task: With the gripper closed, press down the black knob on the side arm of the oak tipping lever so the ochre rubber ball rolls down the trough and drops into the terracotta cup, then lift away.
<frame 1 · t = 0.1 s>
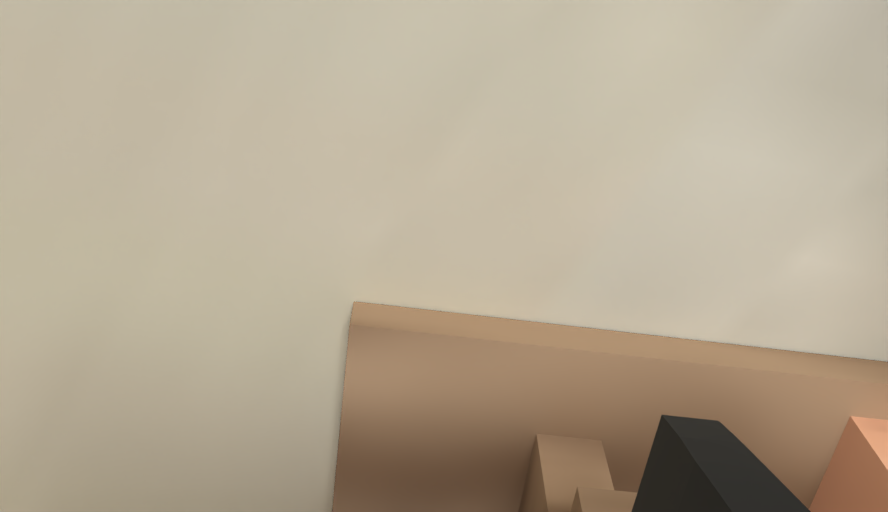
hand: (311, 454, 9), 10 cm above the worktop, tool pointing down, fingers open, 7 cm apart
stand: (548, 471, 22), on the worktop
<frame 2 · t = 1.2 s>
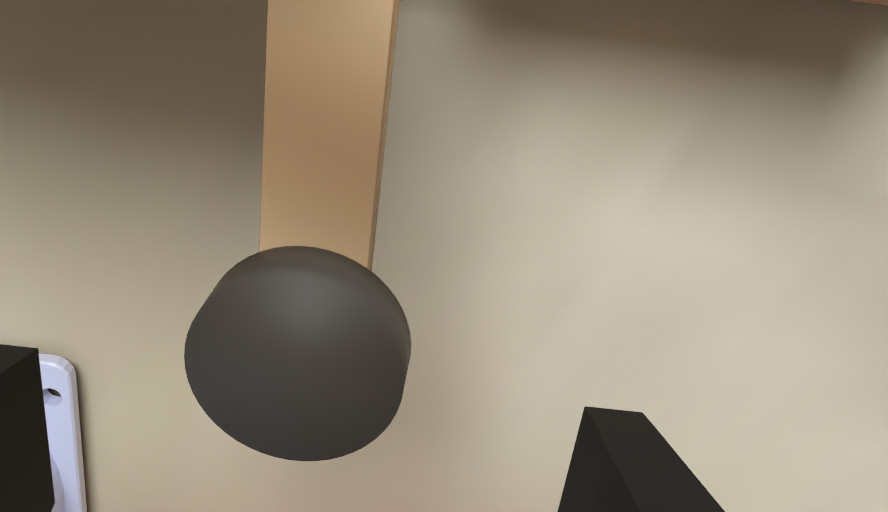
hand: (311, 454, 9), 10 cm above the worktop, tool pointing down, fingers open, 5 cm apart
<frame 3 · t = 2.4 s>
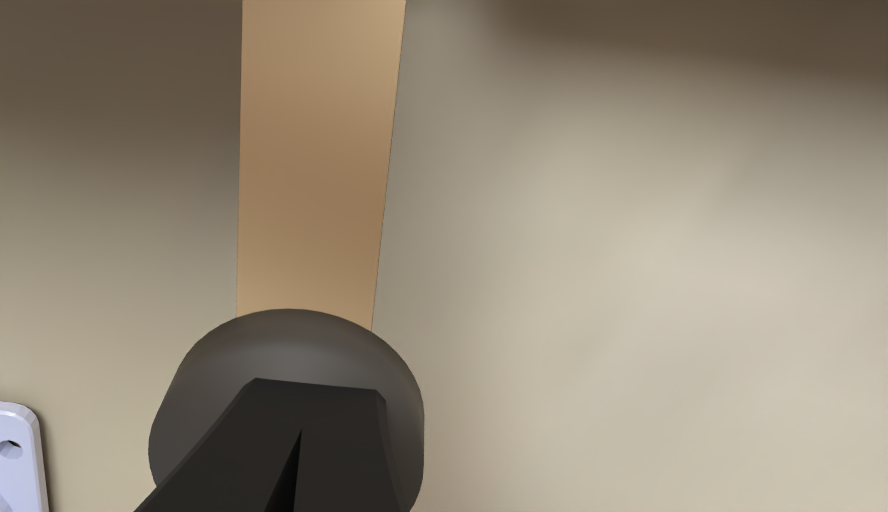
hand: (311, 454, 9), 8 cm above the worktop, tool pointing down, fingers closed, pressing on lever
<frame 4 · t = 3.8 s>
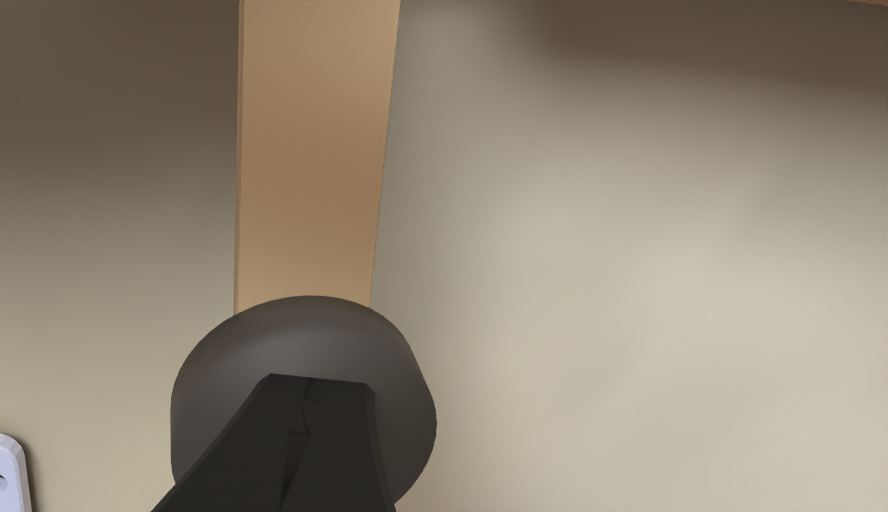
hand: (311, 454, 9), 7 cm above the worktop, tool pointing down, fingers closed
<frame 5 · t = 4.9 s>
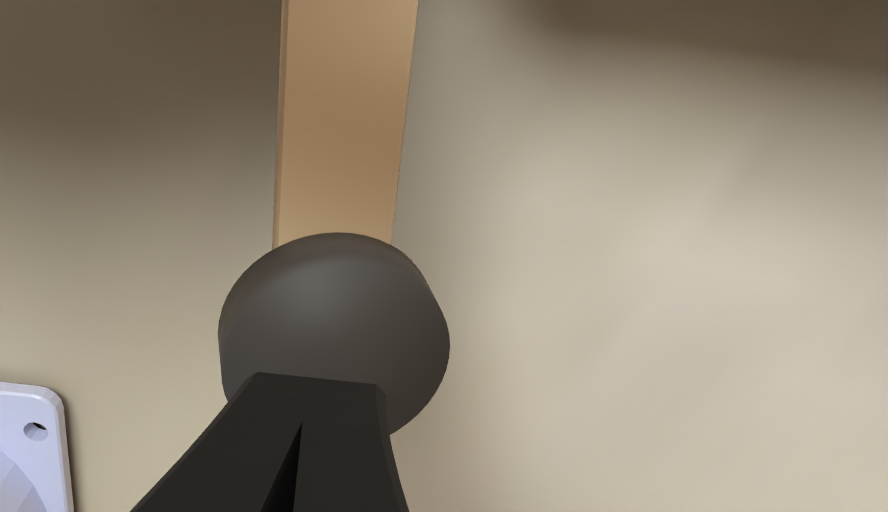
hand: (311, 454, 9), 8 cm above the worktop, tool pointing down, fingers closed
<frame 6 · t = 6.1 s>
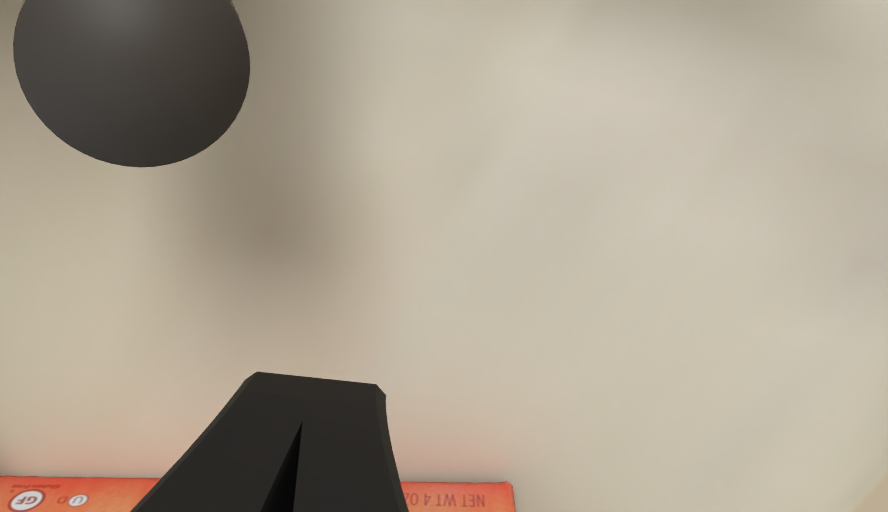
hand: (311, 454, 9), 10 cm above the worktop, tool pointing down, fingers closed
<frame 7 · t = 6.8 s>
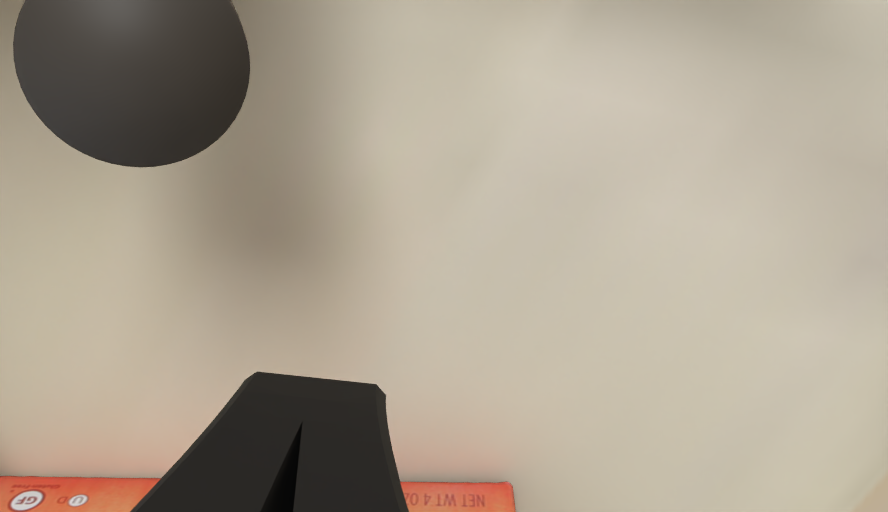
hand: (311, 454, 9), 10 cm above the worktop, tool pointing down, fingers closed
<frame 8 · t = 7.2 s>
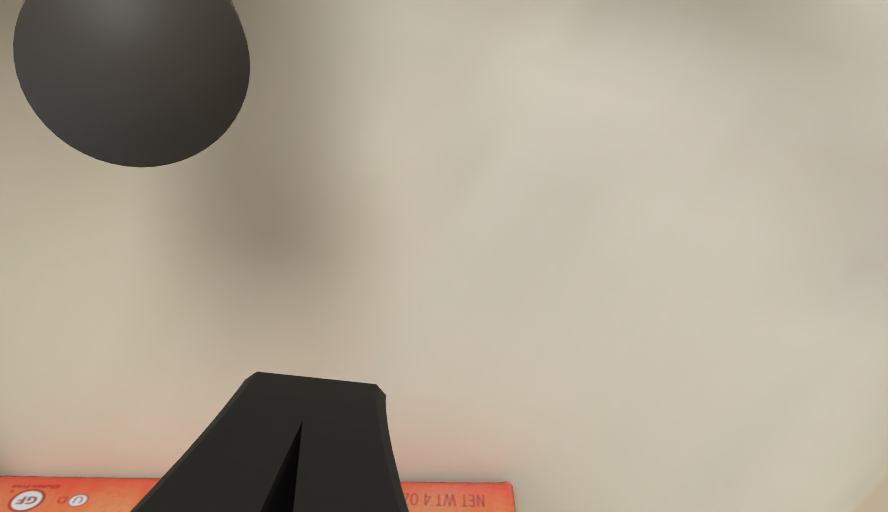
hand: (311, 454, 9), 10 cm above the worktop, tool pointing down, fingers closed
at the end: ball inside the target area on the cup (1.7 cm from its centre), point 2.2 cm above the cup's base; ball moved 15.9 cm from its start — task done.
